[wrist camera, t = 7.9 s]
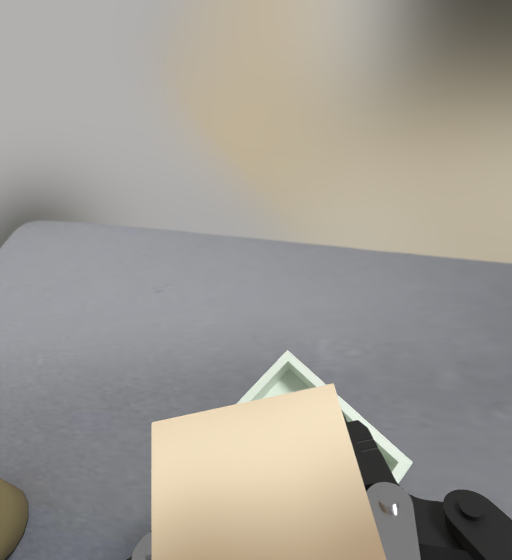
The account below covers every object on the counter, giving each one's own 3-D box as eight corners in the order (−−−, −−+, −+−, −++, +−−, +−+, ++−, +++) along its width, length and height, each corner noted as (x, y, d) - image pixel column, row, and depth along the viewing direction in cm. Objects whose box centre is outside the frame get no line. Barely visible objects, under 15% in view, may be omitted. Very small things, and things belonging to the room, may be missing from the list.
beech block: (234, 445, 18) (151, 422, 8) (320, 427, 18) (333, 383, 8) (248, 559, 15) (151, 709, 6) (349, 539, 15) (416, 660, 6)
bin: (289, 361, 31) (287, 349, 28) (400, 463, 26) (412, 462, 23) (195, 461, 28) (182, 460, 25) (300, 603, 22) (299, 624, 20)
